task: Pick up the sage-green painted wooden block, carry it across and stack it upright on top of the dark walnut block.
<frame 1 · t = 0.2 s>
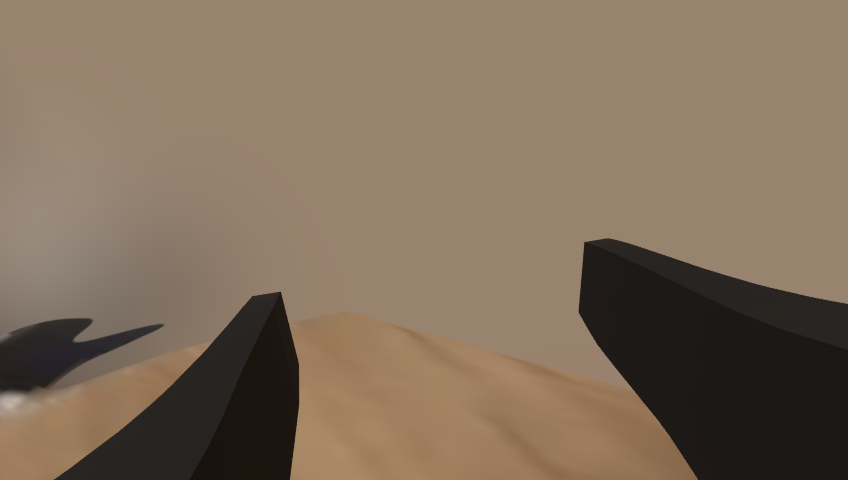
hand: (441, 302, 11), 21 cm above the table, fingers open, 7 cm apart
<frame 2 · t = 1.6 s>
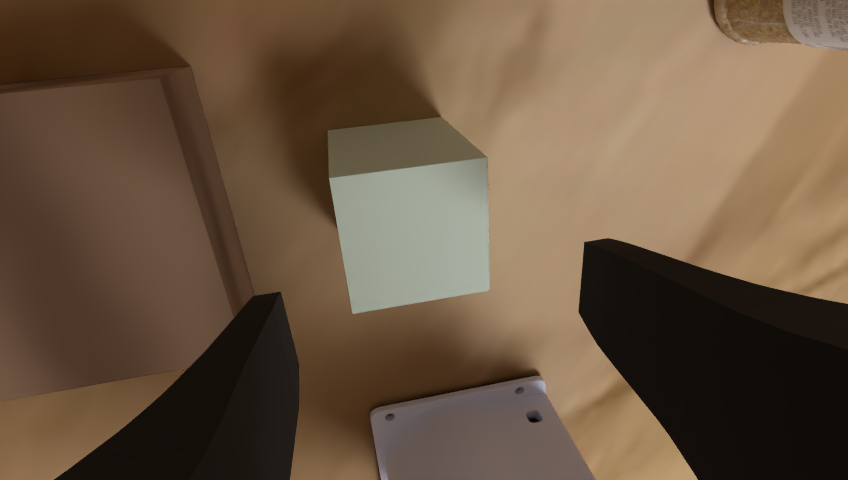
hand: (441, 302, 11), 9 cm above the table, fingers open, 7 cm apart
sage block: (391, 178, 19), on the table
walnut block: (91, 218, 18), on the table
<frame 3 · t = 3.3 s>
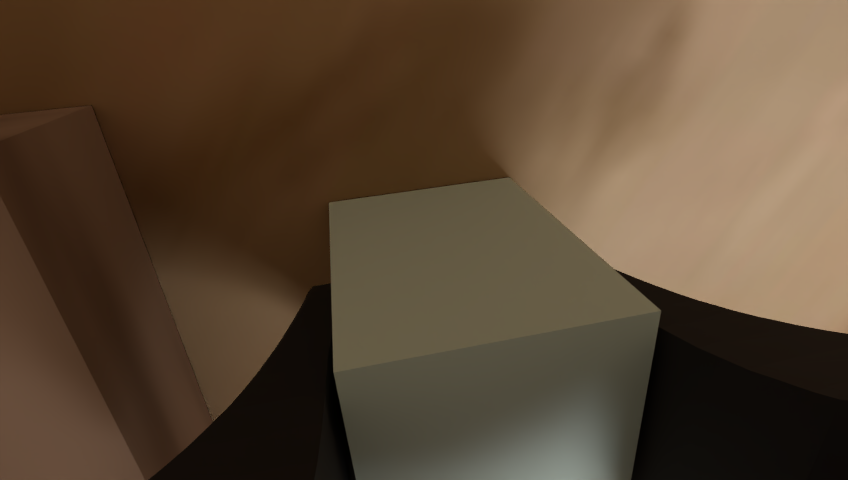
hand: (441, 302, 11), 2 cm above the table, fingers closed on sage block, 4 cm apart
sage block: (428, 269, 13), on the table, touching gripper
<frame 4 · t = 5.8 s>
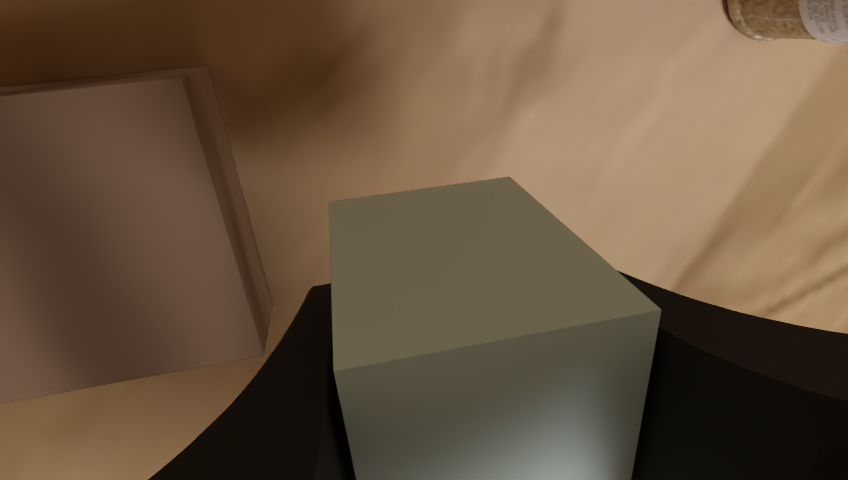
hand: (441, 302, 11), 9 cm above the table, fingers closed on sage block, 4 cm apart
sage block: (428, 268, 13), point 8 cm above the table, touching gripper
walnut block: (109, 218, 18), on the table
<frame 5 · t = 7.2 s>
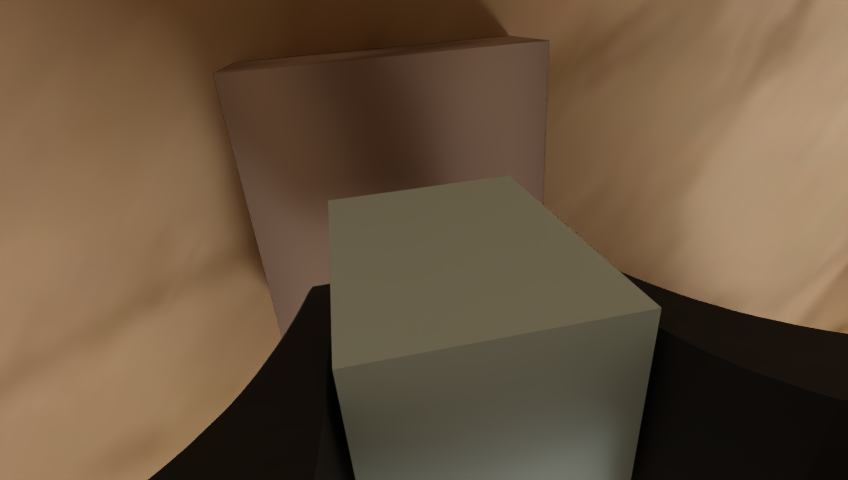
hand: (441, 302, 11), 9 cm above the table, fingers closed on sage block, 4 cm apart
sage block: (427, 267, 12), point 8 cm above the table, touching gripper
walnut block: (392, 180, 19), on the table
when the fingers open (6 cm above the table, at t = 8.3 s): sage block stays where it is, resting on walnut block.
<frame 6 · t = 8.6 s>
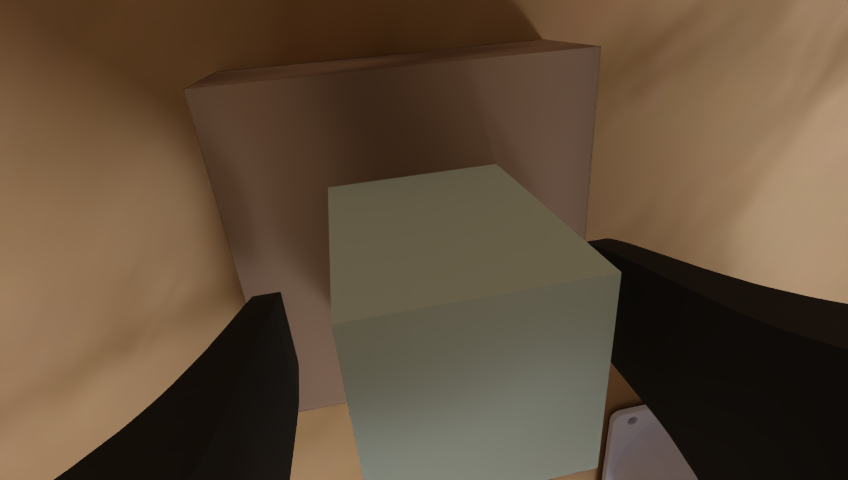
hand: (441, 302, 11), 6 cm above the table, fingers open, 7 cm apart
sage block: (421, 250, 13), point 3 cm above the table, touching walnut block
walnut block: (403, 207, 16), on the table
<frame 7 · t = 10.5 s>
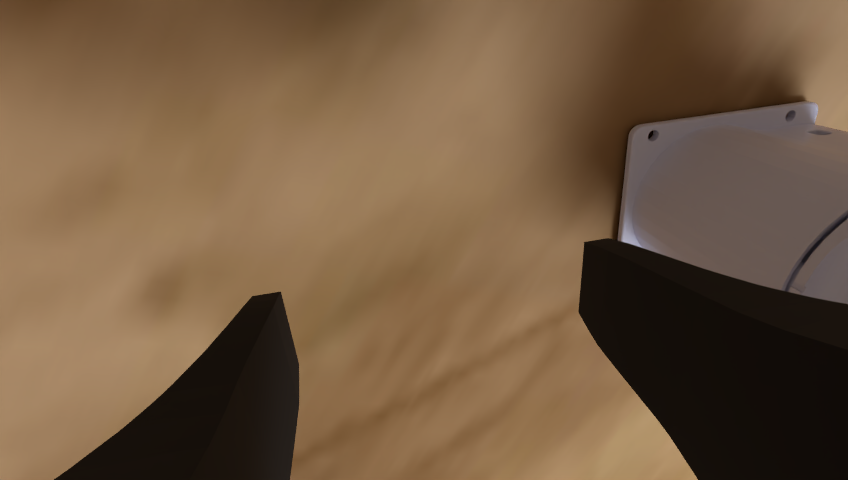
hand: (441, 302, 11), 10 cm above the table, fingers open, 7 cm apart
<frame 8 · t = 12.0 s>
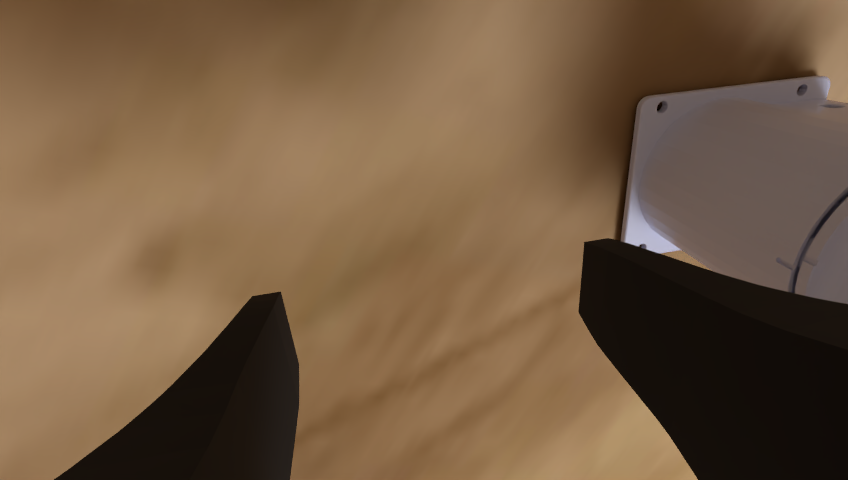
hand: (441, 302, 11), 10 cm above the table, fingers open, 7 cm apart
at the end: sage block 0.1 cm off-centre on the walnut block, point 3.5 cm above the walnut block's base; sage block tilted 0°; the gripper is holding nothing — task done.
